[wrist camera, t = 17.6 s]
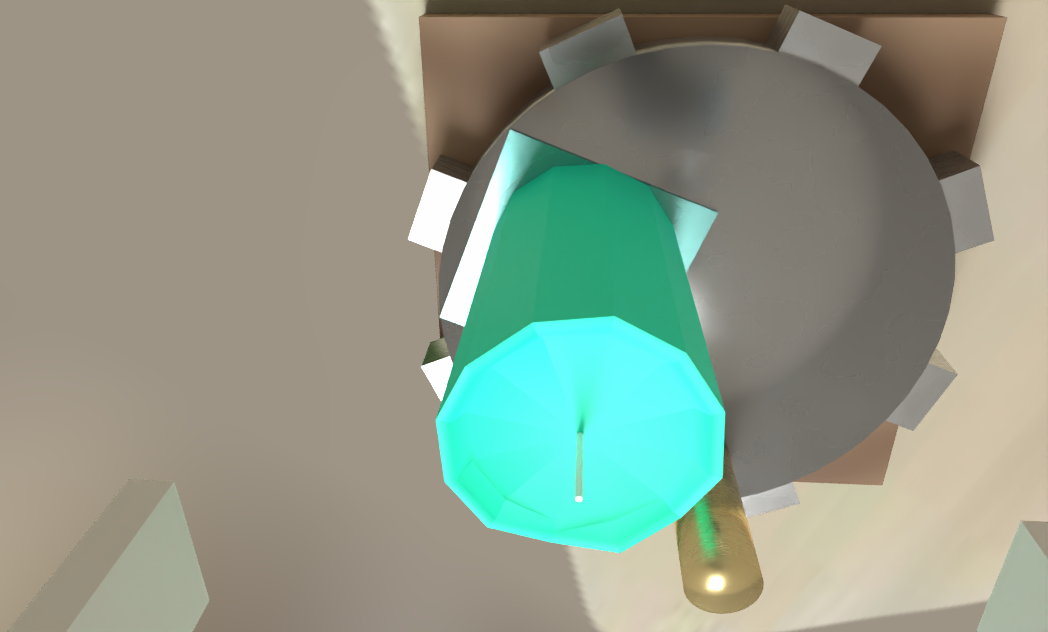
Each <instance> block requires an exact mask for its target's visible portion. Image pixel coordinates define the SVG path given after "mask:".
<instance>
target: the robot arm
mask: <svg viewBox="0 0 1048 632" xmlns="http://www.w3.org/2000/svg"><path fill="white" fill-rule="evenodd" d="M208 602H209V597H208V594H207V591H206V588H205V584H204V581H203V577H202V574H201V570H200V567H199V563H198V560H197V557H196V553H195V550H194V547H193V543H192V540H191V536H190V533H189V529H188V526H187V523H186V520H185V516H184V512H183V509H182V506H181V502H180V499H179V496H178V492H177V489H176V485H175V482H174V481H158V480H157V481H156V480H137V479H129V480H128V481H127V482H126V484H125V485H124V486H123V487H122V489H121V490H120V491H119V492H118V494H117V495H116V496H115V497H114V498H113V500H112V501H111V502H110V503H109V505H108V506H107V507H106V508H105V510H104V511H103V512H102V513H101V515H100V516H99V517H98V518H97V520H96V521H95V522H94V523H93V525H92V526H91V527H90V528H89V530H88V531H87V532H86V533H85V535H84V536H83V537H82V538H81V540H80V541H79V542H78V543H77V545H76V546H75V547H74V548H73V550H72V551H71V552H70V554H69V555H68V556H67V557H66V558H65V560H64V561H63V562H62V563H61V565H60V566H59V567H58V568H57V570H56V571H55V572H54V573H53V575H52V576H51V577H50V578H49V580H48V581H47V583H45V585H44V586H43V587H42V588H41V590H40V591H39V592H38V593H37V595H36V596H35V597H34V599H33V600H32V601H31V602H30V603H29V605H28V606H27V607H26V609H25V610H24V611H23V612H22V614H21V615H20V616H19V617H18V619H17V620H16V621H15V622H14V624H13V625H12V626H11V627H10V628H9V630H8V631H7V632H193V629H194V628H195V626H196V624H197V622H198V620H199V619H200V617H201V615H202V613H203V611H204V610H205V607H206V606H207V604H208ZM976 632H1048V522H1039V521H1021V522H1020V524H1019V527H1018V529H1017V532H1016V534H1015V537H1014V539H1013V542H1012V544H1011V547H1010V549H1009V551H1008V554H1007V556H1006V559H1005V561H1004V564H1003V566H1002V569H1001V571H1000V574H999V576H998V579H997V581H996V584H995V586H994V589H993V591H992V594H991V596H990V598H989V601H988V603H987V606H986V608H985V611H984V613H983V616H982V618H981V621H980V623H979V626H978V629H977V631H976Z"/></svg>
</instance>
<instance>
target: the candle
mask: <svg viewBox="0 0 1048 632" xmlns="http://www.w3.org/2000/svg"><path fill="white" fill-rule="evenodd" d="M436 425H437V432H438V439H439V446H440V453H441V461H442V468H443V475H444V482H445V483H446V484H447V485H448V486H449V487H450V488H451V489H452V490H453V491H454V492H455V494H457V496H458V497H459V498H460V499H461V500H462V501H463V502H464V503H465V504H466V505H467V506H468V507H469V508H470V509H471V511H472V512H473V513H474V514H475V515H476V516H477V517H478V518H479V519H480V520H481V521H482V522H483V523H484V524H485V525H486V526H487V527H489V528H493V529H497V530H501V531H506V532H509V533H514V534H518V535H522V536H526V537H531V538H535V539H539V540H543V541H547V542H552V543H559V544H565V545H571V546H578V547H584V548H591V549H597V550H604V551H610V552H617V553H621V552H623V551H625V550H626V549H628V548H630V547H631V546H633V545H635V544H637V543H638V542H640V541H642V540H644V539H645V538H647V537H649V536H650V535H652V534H654V533H656V532H657V531H659V530H661V529H662V528H664V527H666V526H668V525H669V524H671V523H673V522H675V521H676V520H678V519H680V518H681V517H682V516H683V515H684V514H686V513H687V512H688V511H689V510H690V509H691V508H692V507H693V506H694V505H695V504H696V503H697V502H698V501H699V500H700V499H701V498H702V497H703V496H704V495H705V494H706V493H707V492H708V491H710V490H711V489H712V488H713V487H714V486H715V485H716V484H717V483H718V482H719V481H720V480H721V479H722V478H723V456H724V431H725V409H724V406H723V402H722V399H721V395H720V392H719V388H718V384H717V381H716V377H715V374H714V370H713V367H712V363H711V359H710V356H709V352H708V349H707V345H706V341H705V338H704V334H703V331H702V327H701V324H700V320H699V316H698V313H697V309H696V306H695V302H694V299H693V295H692V291H691V288H690V284H689V281H688V277H687V274H686V270H685V266H684V263H683V259H682V256H681V252H680V249H679V245H678V241H677V238H676V234H675V231H674V227H673V225H672V223H671V221H670V220H669V218H668V217H667V215H666V213H665V212H664V210H663V209H662V207H661V205H660V204H659V202H658V201H657V199H656V197H655V196H654V194H653V193H652V191H651V189H650V188H649V186H647V185H645V184H643V183H641V182H639V181H637V180H635V179H633V178H631V177H629V176H627V175H625V174H623V173H621V172H619V171H617V170H615V169H613V168H611V167H610V166H608V165H606V164H592V165H573V166H554V167H552V168H551V169H549V170H548V171H546V172H545V173H543V174H541V175H540V176H538V177H537V178H535V179H534V180H532V181H530V182H529V183H527V184H526V185H524V186H523V187H521V188H519V189H518V190H516V191H515V192H513V194H512V196H511V198H510V200H509V202H508V204H507V206H506V208H505V210H504V212H503V214H502V216H501V218H500V220H499V222H498V224H497V226H496V228H495V230H494V232H493V234H492V237H491V240H490V244H489V247H488V250H487V253H486V257H485V260H484V263H483V267H482V270H481V273H480V276H479V280H478V283H477V286H476V290H475V293H474V296H473V299H472V303H471V306H470V309H469V313H468V316H467V319H466V322H465V326H464V329H463V332H462V335H461V339H460V342H459V345H458V349H457V352H456V355H455V358H454V362H453V365H452V368H451V372H450V375H449V378H448V381H447V385H446V388H445V391H444V395H443V398H442V401H441V404H440V408H439V411H438V414H437V417H436Z"/></svg>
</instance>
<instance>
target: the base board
mask: <svg viewBox="0 0 1048 632" xmlns="http://www.w3.org/2000/svg"><path fill="white" fill-rule="evenodd" d="M603 15H605V14H424V15H422V16H420V17H419V25H420V41H421V56H422V71H423V86H424V101H425V116H426V131H427V146H428V161H429V175H430V172H431V169H432V167H433V166H434V164H435V162H436V161H437V159H438V158H439V156H440V155H441V154H443V155H445V156H448V157H450V158H453V159H455V160H458V161H460V162H463V163H466V164H468V165H471V166H473V167H475V165H476V163H477V162H478V160H479V159H480V157H481V155H482V154H483V152H484V150H485V149H486V147H487V146H488V144H489V143H490V141H491V140H492V139H493V138H494V137H495V135H496V134H497V133H498V132H499V131H500V129H501V128H502V127H503V126H504V124H505V123H506V122H507V121H508V120H509V118H511V117H512V116H513V115H514V114H515V113H516V112H517V111H518V110H519V109H520V108H521V107H522V106H523V105H525V104H526V103H527V102H528V101H529V100H530V99H531V98H532V97H533V96H534V95H536V94H537V93H539V92H540V91H541V90H543V89H544V88H546V87H547V86H548V85H550V84H551V80H550V78H549V76H548V73H547V71H546V68H545V66H544V64H543V61H542V59H541V56H540V54H539V50H540V48H541V45H542V43H544V42H547V41H549V40H551V39H553V38H555V37H557V36H560V35H562V34H564V33H566V32H568V31H571V30H573V29H575V28H577V27H579V26H581V25H584V24H586V23H588V22H590V21H592V20H594V19H597V18H599V17H601V16H603ZM622 15H623V18H624V21H625V23H626V26H627V29H628V32H629V34H630V37H631V40H632V43H633V45H638V44H642V43H647V42H651V41H656V40H660V39H667V38H679V37H690V36H715V37H735V38H741V39H746V40H751V41H756V42H762V43H766V41H767V39H768V37H769V35H770V33H771V31H772V29H773V27H774V25H775V23H776V21H777V19H778V17H779V15H780V14H622ZM809 15H812V16H814V17H816V18H819V19H821V20H823V21H825V22H828V23H830V24H832V25H835V26H837V27H839V28H842V29H844V30H846V31H848V32H851V33H853V34H855V35H858V36H860V37H862V38H865V39H867V40H869V41H871V42H874V43H876V44H878V45H881V48H880V50H879V52H878V53H877V55H876V57H875V59H874V60H873V62H872V64H871V65H870V67H869V69H868V71H867V72H866V74H865V76H864V77H863V79H862V81H861V83H860V84H859V86H858V87H859V88H861V89H862V90H863V91H865V92H866V93H868V94H869V95H870V96H872V97H873V98H874V99H876V100H877V101H878V102H880V103H881V104H883V105H884V106H885V107H886V108H887V109H888V110H889V111H890V112H891V113H892V114H893V115H894V116H895V117H896V118H897V119H898V120H899V121H900V122H901V123H902V124H903V126H904V127H905V128H906V129H907V130H908V131H909V132H910V134H911V135H912V137H913V138H914V139H915V141H916V142H917V144H918V145H919V146H920V148H921V149H922V151H923V152H924V153H925V155H926V156H927V158H928V159H931V158H934V157H937V156H939V155H942V154H945V153H948V152H950V151H953V150H955V151H957V152H959V153H960V154H962V155H963V156H965V157H967V158H968V159H970V155H971V151H972V147H973V144H974V140H975V136H976V132H977V129H978V125H979V121H980V117H981V114H982V110H983V106H984V102H985V99H986V95H987V91H988V87H989V84H990V80H991V76H992V72H993V69H994V65H995V61H996V57H997V54H998V50H999V46H1000V42H1001V39H1002V35H1003V31H1004V27H1005V24H1006V20H1007V17H1003V16H998V15H994V14H809ZM434 252H435V267H436V281H437V298H438V313H439V327H440V339H441V338H443V337H444V336H443V329H442V323H441V317H440V311H439V282H438V278H439V270H440V262H441V254H442V252H439V251H437V250H434ZM897 429H898V425H896V424H894V423H891V422H888V421H886V420H885V421H884V422H883V423H882V424H881V425H880V426H879V427H878V428H877V429H876V430H874V431H873V432H872V433H871V434H870V435H869V436H868V437H867V438H866V439H864V440H863V441H862V442H860V443H859V444H858V445H856V446H855V447H854V448H852V449H851V450H849V451H848V452H847V453H845V454H844V455H843V456H841V457H840V458H838V459H836V460H834V461H833V462H831V463H829V464H827V465H826V466H824V467H822V468H821V469H819V470H817V471H815V472H813V473H811V474H809V475H807V476H804V477H802V478H800V479H798V480H795V481H793V482H816V483H839V484H863V485H883V481H884V477H885V474H886V470H887V466H888V462H889V459H890V455H891V451H892V447H893V444H894V440H895V436H896V432H897Z"/></svg>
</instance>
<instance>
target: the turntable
mask: <svg viewBox="0 0 1048 632" xmlns="http://www.w3.org/2000/svg"><path fill="white" fill-rule="evenodd" d="M880 48H881V45H878V44H876V43H874V42H871V41H869V40H867V39H865V38H862V37H860V36H858V35H855V34H853V33H851V32H848V31H846V30H844V29H842V28H839V27H837V26H835V25H832V24H830V23H828V22H825V21H823V20H821V19H819V18H816V17H814V16H812V15H809V14H807V13H805V12H803V11H800V10H798V9H795V8H793V7H791V6H788V5H786V4H785V5H784V7H783V9H782V11H781V13H780V15H779V17H778V19H777V21H776V23H775V25H774V27H773V29H772V31H771V33H770V35H769V37H768V39H767V41H766V43H762V42H756V41H751V40H746V39H741V38H735V37H715V36H690V37H679V38H667V39H660V40H656V41H651V42H647V43H642V44H638V45H633V43H632V40H631V37H630V34H629V32H628V29H627V26H626V23H625V21H624V18H623V15H622V12H621V10H620V8H618V9H616V10H614V11H612V12H610V13H608V14H605V15H603V16H601V17H599V18H597V19H594V20H592V21H590V22H588V23H586V24H584V25H581V26H579V27H577V28H575V29H573V30H571V31H568V32H566V33H564V34H562V35H560V36H557V37H555V38H553V39H551V40H549V41H547V42H544V43H542V45H541V48H540V50H539V54H540V56H541V59H542V61H543V64H544V66H545V68H546V71H547V73H548V76H549V78H550V80H551V84H550V85H548V86H547V87H546V88H544V89H543V90H541V91H540V92H539V93H537V94H536V95H534V96H533V97H532V98H531V99H530V100H529V101H528V102H527V103H526V104H525V105H523V106H522V107H521V108H520V109H519V110H518V111H517V112H516V113H515V114H514V115H513V116H512V117H511V118H509V120H508V121H507V122H506V123H505V124H504V126H503V127H502V128H501V129H500V131H499V132H498V133H497V134H496V135H495V137H494V138H493V139H492V140H491V141H490V143H489V144H488V146H487V147H486V149H485V150H484V152H483V154H482V155H481V157H480V159H479V160H478V162H477V163H476V165H475V167H473V166H471V165H468V164H466V163H463V162H460V161H458V160H455V159H453V158H450V157H448V156H445V155H443V154H441V155H440V156H439V158H438V159H437V161H436V162H435V164H434V166H433V167H432V169H431V172H430V175H429V178H428V181H427V184H426V187H425V190H424V193H423V196H422V199H421V202H420V205H419V208H418V211H417V214H416V217H415V220H414V223H413V226H412V229H411V232H410V235H409V238H408V240H410V241H413V242H416V243H418V244H421V245H424V246H426V247H429V248H432V249H434V250H437V251H439V252H442V254H441V262H440V270H439V278H438V282H439V311H440V317H441V323H442V329H443V336H444V337H443V338H441V339H438V340H435V341H432V342H430V345H429V347H428V350H427V353H426V355H425V358H424V361H423V363H422V366H421V367H422V369H423V370H424V372H425V374H426V375H427V377H428V379H429V381H430V382H431V384H432V386H433V388H434V389H435V391H436V393H437V394H438V396H439V398H440V400H441V401H442V398H443V395H444V391H445V388H446V385H447V381H448V378H449V375H450V372H451V368H452V365H453V362H454V358H455V355H456V352H457V349H458V345H459V342H460V339H461V335H462V332H463V329H464V326H465V322H466V319H467V316H468V313H469V309H470V306H471V303H472V299H473V296H474V293H475V290H476V286H477V283H478V280H479V276H480V273H481V270H482V267H483V263H484V260H485V257H486V253H487V250H488V247H489V244H490V240H491V237H492V234H493V232H494V230H495V228H496V226H497V224H498V222H499V220H500V218H501V216H502V214H503V212H504V210H505V208H506V206H507V204H508V202H509V200H510V198H511V196H512V194H513V192H515V191H516V190H518V189H519V188H521V187H523V186H524V185H526V184H527V183H529V182H530V181H532V180H534V179H535V178H537V177H538V176H540V175H541V174H543V173H545V172H546V171H548V170H549V169H551V168H552V167H554V166H573V165H592V164H606V165H608V166H610V167H611V168H613V169H615V170H617V171H619V172H621V173H623V174H625V175H627V176H629V177H631V178H633V179H635V180H637V181H639V182H641V183H643V184H645V185H647V186H649V188H650V189H651V191H652V193H653V194H654V196H655V197H656V199H657V201H658V202H659V204H660V205H661V207H662V209H663V210H664V212H665V213H666V215H667V217H668V218H669V220H670V221H671V223H672V225H673V227H674V231H675V234H676V238H677V241H678V245H679V249H680V252H681V256H682V259H683V263H684V266H685V270H686V274H687V277H688V281H689V284H690V288H691V291H692V295H693V299H694V302H695V306H696V309H697V313H698V316H699V320H700V324H701V327H702V331H703V334H704V338H705V341H706V345H707V349H708V352H709V356H710V359H711V363H712V367H713V370H714V374H715V377H716V381H717V384H718V388H719V392H720V395H721V399H722V402H723V406H724V409H725V431H724V456H723V478H722V479H721V480H720V481H719V482H718V483H717V484H716V485H715V486H714V487H713V488H712V489H711V490H710V491H708V492H707V493H706V494H705V495H704V496H703V497H702V498H701V499H700V500H699V501H698V502H697V503H696V504H695V505H694V506H693V507H692V508H691V509H690V510H689V511H688V512H687V513H686V514H684V515H683V516H682V517H681V518H680V519H678V520H676V521H675V522H674V525H675V532H676V539H677V546H678V553H679V560H680V567H681V574H682V581H683V588H684V593H685V595H686V597H687V599H688V600H689V601H690V602H691V603H692V604H693V605H695V606H696V607H698V608H699V609H702V610H704V611H707V612H711V613H719V614H725V613H733V612H737V611H740V610H743V609H745V608H747V607H749V606H750V605H752V604H753V603H754V602H755V601H756V600H757V599H758V598H759V596H760V595H761V593H762V590H763V584H764V583H763V578H762V574H761V570H760V566H759V563H758V559H757V555H756V551H755V548H754V544H753V540H752V536H751V533H750V529H749V525H748V521H747V518H748V517H752V516H755V515H759V514H763V513H767V512H770V511H774V510H778V509H781V508H785V507H789V506H792V505H796V504H800V502H799V499H798V496H797V493H796V491H795V488H794V485H793V481H795V480H798V479H800V478H802V477H804V476H807V475H809V474H811V473H813V472H815V471H817V470H819V469H821V468H822V467H824V466H826V465H827V464H829V463H831V462H833V461H834V460H836V459H838V458H840V457H841V456H843V455H844V454H845V453H847V452H848V451H849V450H851V449H852V448H854V447H855V446H856V445H858V444H859V443H860V442H862V441H863V440H864V439H866V438H867V437H868V436H869V435H870V434H871V433H872V432H873V431H874V430H876V429H877V428H878V427H879V426H880V425H881V424H882V423H883V422H884V421H885V420H886V421H888V422H891V423H894V424H896V425H899V426H902V427H904V428H907V429H910V430H912V431H914V429H915V428H916V427H917V425H918V424H919V423H920V422H921V420H922V419H923V418H924V417H925V415H926V414H927V413H928V411H929V410H930V409H931V408H932V406H933V405H934V404H935V403H936V401H937V400H938V399H939V397H940V396H941V395H942V394H943V392H944V391H945V390H946V389H947V387H948V386H949V385H950V383H951V382H952V381H953V380H954V378H955V377H956V376H957V375H958V374H957V373H956V372H955V371H954V369H953V368H952V367H951V366H950V364H949V363H948V362H947V361H946V360H945V358H944V357H943V356H942V355H941V353H940V352H939V351H938V350H937V349H936V346H937V344H938V342H939V340H940V337H941V334H942V331H943V328H944V325H945V322H946V319H947V316H948V313H949V309H950V303H951V297H952V292H953V286H954V280H955V253H958V252H961V251H964V250H967V249H970V248H973V247H976V246H979V245H982V244H985V243H988V242H991V241H994V237H993V232H992V226H991V221H990V216H989V211H988V205H987V200H986V195H985V190H984V184H983V179H982V174H981V169H980V166H979V165H978V164H976V163H975V162H973V161H971V160H970V159H968V158H967V157H965V156H963V155H962V154H960V153H959V152H957V151H955V150H953V151H950V152H948V153H945V154H942V155H939V156H937V157H934V158H931V159H928V158H927V156H926V155H925V153H924V152H923V151H922V149H921V148H920V146H919V145H918V144H917V142H916V141H915V139H914V138H913V137H912V135H911V134H910V132H909V131H908V130H907V129H906V128H905V127H904V126H903V124H902V123H901V122H900V121H899V120H898V119H897V118H896V117H895V116H894V115H893V114H892V113H891V112H890V111H889V110H888V109H887V108H886V107H885V106H884V105H883V104H881V103H880V102H878V101H877V100H876V99H874V98H873V97H872V96H870V95H869V94H868V93H866V92H865V91H863V90H862V89H861V88H859V87H858V86H859V84H860V83H861V81H862V79H863V77H864V76H865V74H866V72H867V71H868V69H869V67H870V65H871V64H872V62H873V60H874V59H875V57H876V55H877V53H878V52H879V50H880Z"/></svg>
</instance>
